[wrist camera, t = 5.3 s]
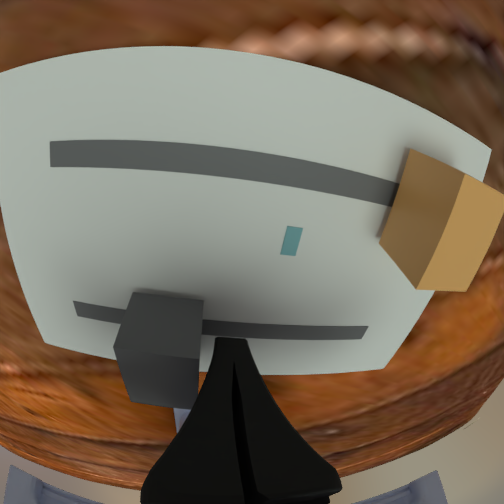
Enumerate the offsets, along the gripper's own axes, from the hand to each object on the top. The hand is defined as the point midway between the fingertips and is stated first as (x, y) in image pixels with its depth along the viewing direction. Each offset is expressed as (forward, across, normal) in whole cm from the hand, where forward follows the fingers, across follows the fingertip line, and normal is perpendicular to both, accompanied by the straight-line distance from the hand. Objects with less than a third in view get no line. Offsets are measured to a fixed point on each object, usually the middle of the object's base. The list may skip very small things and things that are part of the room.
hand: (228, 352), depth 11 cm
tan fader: (+1, -7, -7) cm, 10 cm away
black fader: (+1, +3, 0) cm, 3 cm away
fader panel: (+3, 0, -4) cm, 5 cm away
